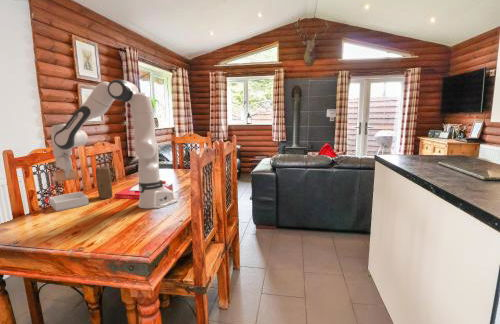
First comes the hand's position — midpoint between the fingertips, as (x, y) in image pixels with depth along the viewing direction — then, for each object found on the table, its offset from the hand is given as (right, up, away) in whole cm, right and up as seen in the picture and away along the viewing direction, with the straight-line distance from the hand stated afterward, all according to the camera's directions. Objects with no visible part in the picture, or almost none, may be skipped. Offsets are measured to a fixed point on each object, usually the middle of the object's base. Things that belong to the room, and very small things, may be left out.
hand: (65, 176), depth 157 cm
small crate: (0, -2, 0) cm, 2 cm away
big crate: (0, -17, +4) cm, 18 cm away
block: (+13, -15, +18) cm, 27 cm away
